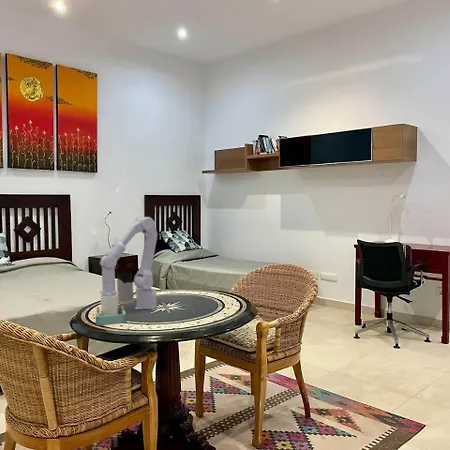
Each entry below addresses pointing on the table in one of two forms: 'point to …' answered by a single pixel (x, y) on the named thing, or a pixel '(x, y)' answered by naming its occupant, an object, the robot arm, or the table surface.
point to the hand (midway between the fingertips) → (109, 310)
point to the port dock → (111, 319)
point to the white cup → (109, 304)
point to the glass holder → (125, 287)
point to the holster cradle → (121, 308)
